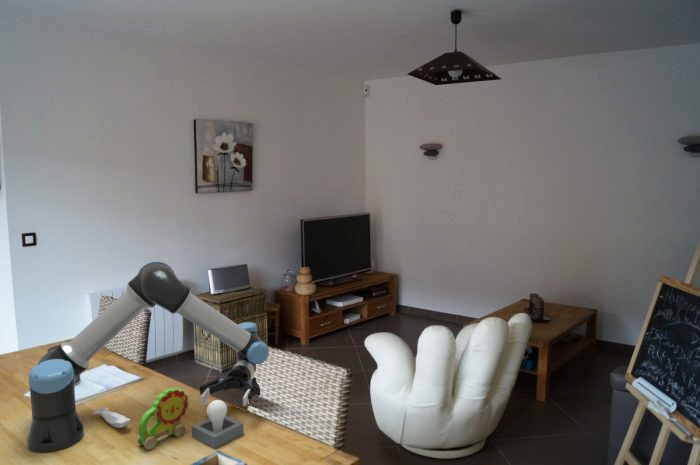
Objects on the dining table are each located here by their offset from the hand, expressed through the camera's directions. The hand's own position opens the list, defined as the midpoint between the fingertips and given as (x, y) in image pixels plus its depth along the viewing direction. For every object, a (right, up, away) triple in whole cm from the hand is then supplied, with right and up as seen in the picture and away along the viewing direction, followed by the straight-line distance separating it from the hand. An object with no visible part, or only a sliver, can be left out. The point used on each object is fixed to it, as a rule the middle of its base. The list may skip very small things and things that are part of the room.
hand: (222, 401), depth 170 cm
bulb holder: (-1, -9, -3) cm, 10 cm away
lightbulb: (-1, -9, -3) cm, 10 cm away
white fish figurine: (-36, -9, +4) cm, 38 cm away
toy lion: (-16, -10, -5) cm, 20 cm away
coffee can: (-69, -5, +36) cm, 78 cm away
